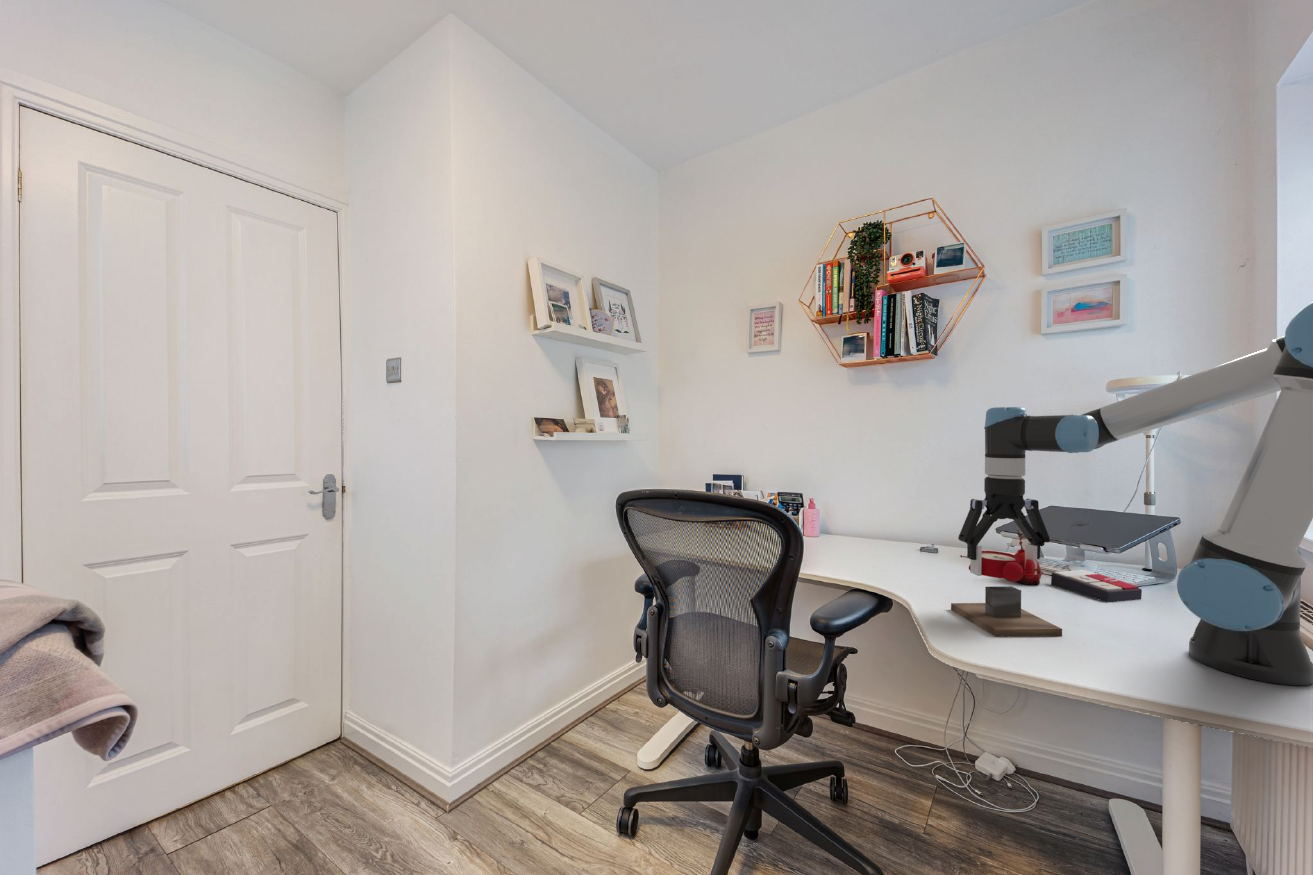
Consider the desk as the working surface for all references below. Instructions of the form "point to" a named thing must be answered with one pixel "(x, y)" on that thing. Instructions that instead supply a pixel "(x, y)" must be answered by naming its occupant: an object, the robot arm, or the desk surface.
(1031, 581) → the red clay folk toy
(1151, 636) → the desk surface
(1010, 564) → the alarm clock
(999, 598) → the stand
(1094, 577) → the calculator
